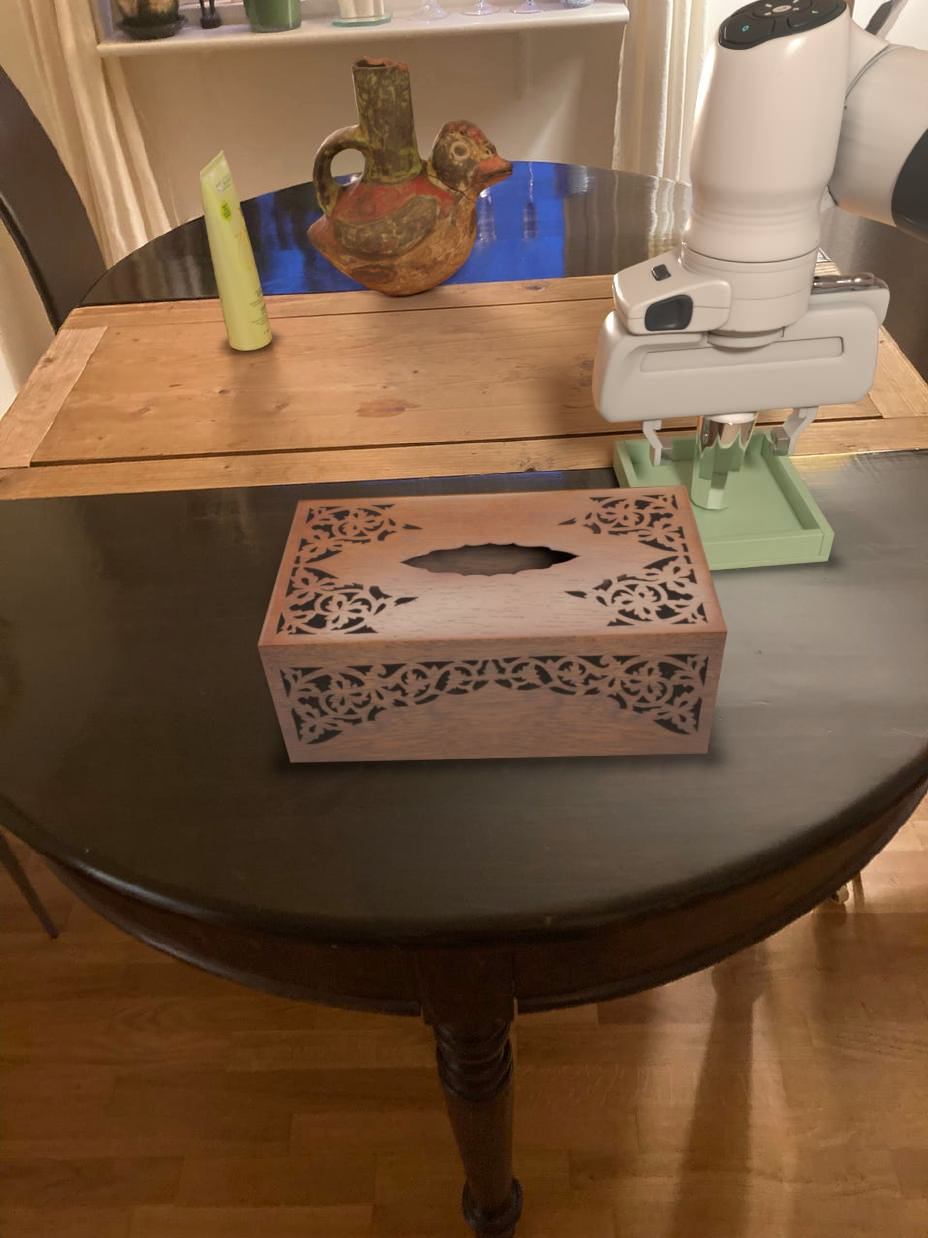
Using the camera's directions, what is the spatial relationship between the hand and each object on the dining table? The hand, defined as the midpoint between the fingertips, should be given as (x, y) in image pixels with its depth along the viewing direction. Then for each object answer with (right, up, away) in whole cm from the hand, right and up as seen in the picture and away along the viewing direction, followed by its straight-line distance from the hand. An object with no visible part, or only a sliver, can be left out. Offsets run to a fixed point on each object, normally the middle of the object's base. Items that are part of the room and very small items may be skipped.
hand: (720, 457), depth 72 cm
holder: (0, -4, +3) cm, 5 cm away
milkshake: (0, -3, +3) cm, 4 cm away
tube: (-45, +19, +34) cm, 59 cm away
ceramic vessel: (-26, +29, +44) cm, 58 cm away
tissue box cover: (-18, -17, -10) cm, 26 cm away
